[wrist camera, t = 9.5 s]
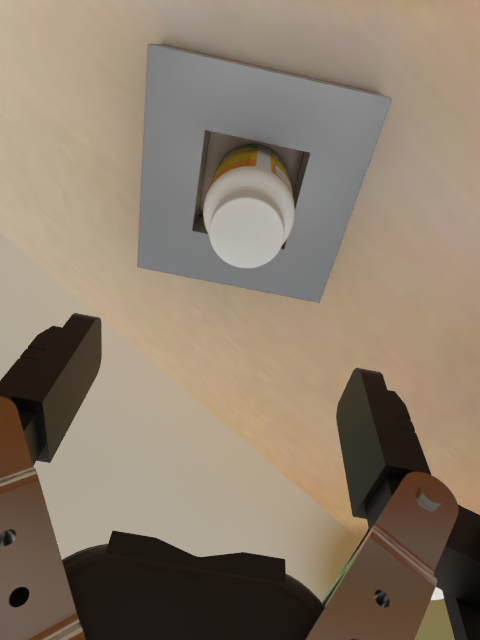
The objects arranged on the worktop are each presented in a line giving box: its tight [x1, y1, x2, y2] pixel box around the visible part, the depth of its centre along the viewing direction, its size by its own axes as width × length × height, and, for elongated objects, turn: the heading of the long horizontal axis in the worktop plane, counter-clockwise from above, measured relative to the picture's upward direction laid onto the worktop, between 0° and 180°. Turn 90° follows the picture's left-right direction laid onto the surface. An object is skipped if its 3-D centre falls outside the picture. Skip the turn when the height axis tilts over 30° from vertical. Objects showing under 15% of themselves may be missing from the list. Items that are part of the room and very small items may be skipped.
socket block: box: [137, 44, 392, 303], centre depth 28 cm, size 14×14×3 cm
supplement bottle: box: [203, 145, 295, 268], centre depth 25 cm, size 5×5×10 cm
